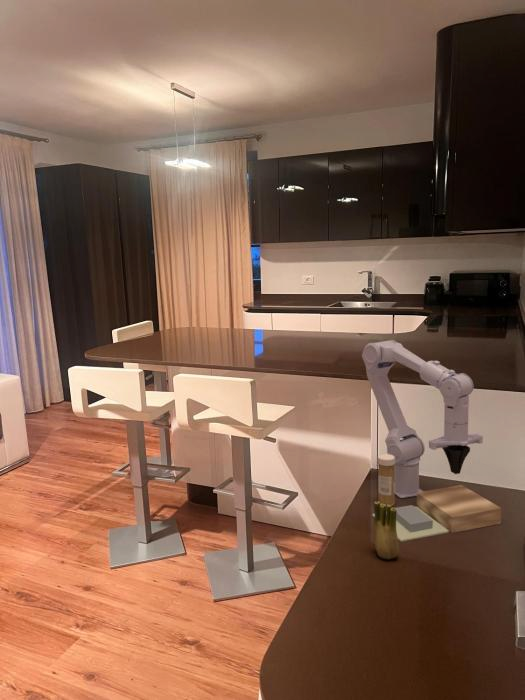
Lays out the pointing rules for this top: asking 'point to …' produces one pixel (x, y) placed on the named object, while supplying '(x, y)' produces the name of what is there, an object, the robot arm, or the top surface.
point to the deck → (458, 508)
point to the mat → (407, 535)
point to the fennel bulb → (385, 531)
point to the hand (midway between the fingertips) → (455, 472)
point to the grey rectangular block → (413, 519)
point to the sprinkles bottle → (386, 479)
